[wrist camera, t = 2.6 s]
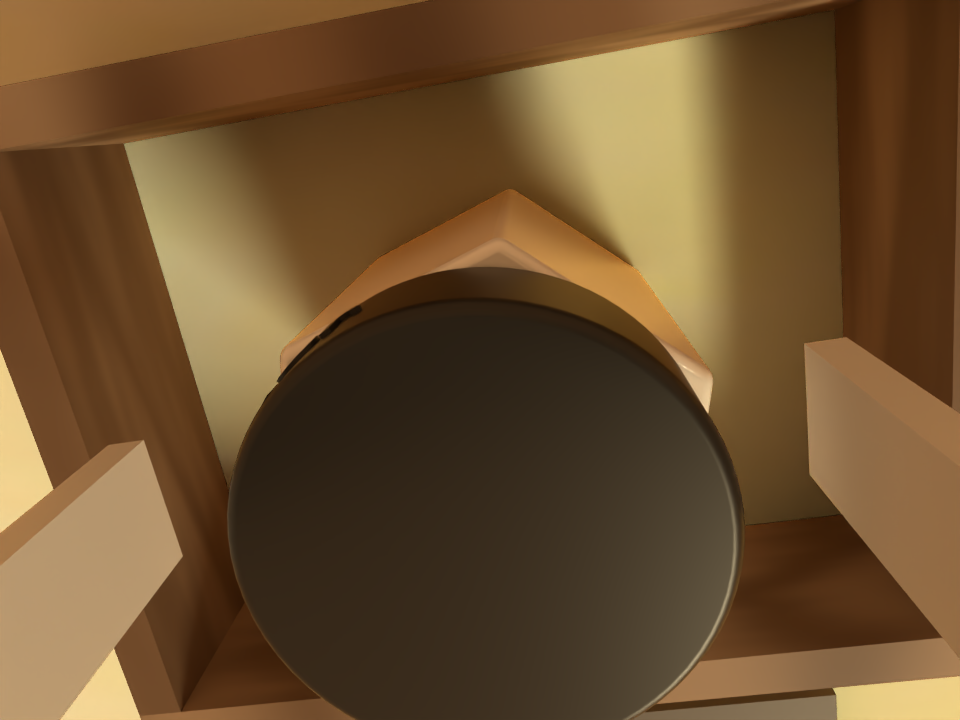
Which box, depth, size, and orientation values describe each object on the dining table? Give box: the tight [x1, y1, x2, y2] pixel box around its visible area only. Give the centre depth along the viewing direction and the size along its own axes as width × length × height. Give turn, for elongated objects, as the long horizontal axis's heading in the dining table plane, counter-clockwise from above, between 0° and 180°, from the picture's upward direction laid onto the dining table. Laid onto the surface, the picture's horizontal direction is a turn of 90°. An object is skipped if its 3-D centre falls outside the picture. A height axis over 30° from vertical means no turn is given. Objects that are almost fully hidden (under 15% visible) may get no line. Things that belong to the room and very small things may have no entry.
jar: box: [227, 189, 745, 720], centre depth 17 cm, size 9×8×12 cm
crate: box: [0, 0, 960, 720], centre depth 20 cm, size 22×17×6 cm
